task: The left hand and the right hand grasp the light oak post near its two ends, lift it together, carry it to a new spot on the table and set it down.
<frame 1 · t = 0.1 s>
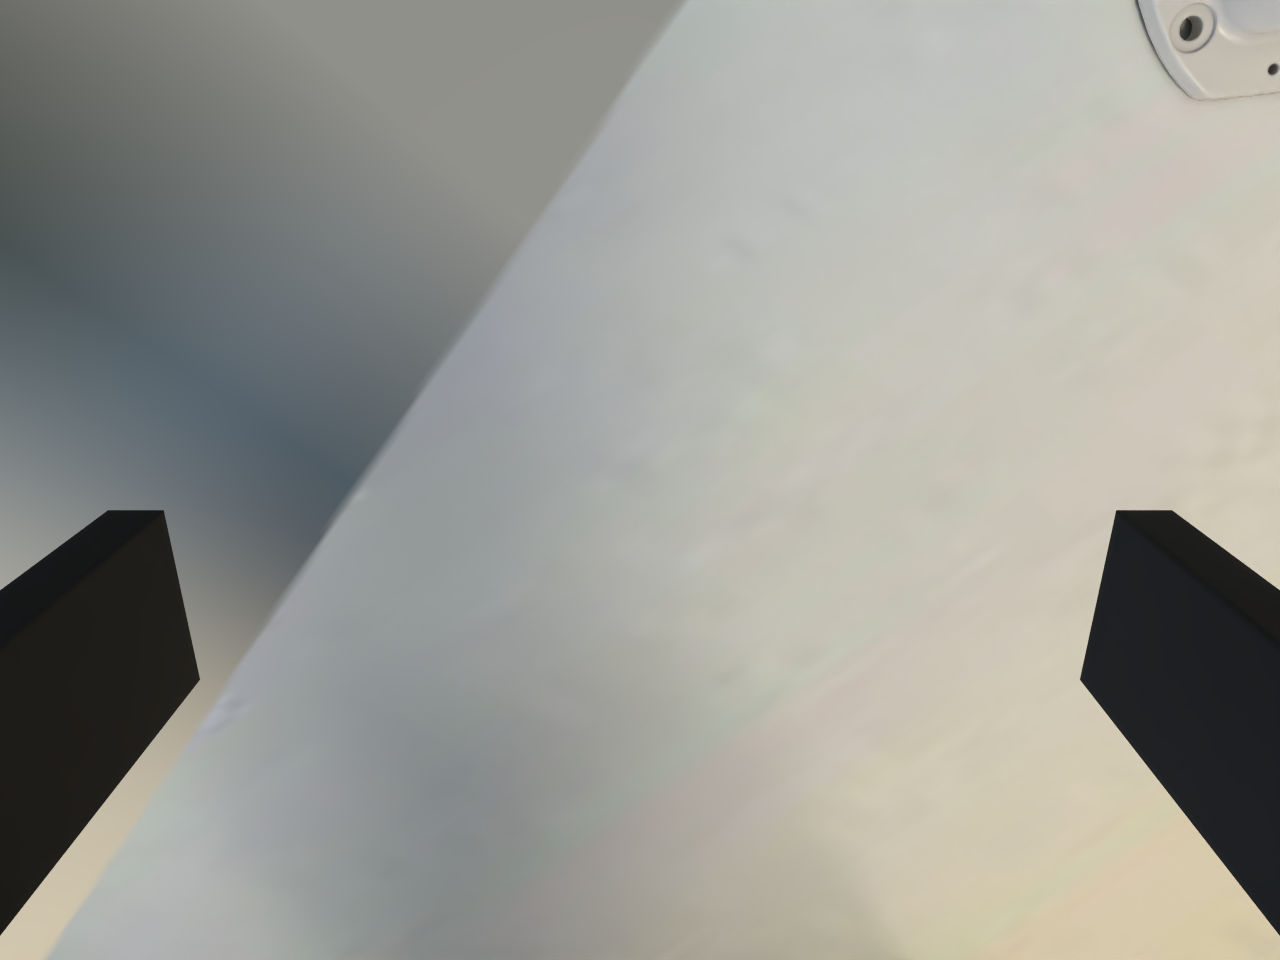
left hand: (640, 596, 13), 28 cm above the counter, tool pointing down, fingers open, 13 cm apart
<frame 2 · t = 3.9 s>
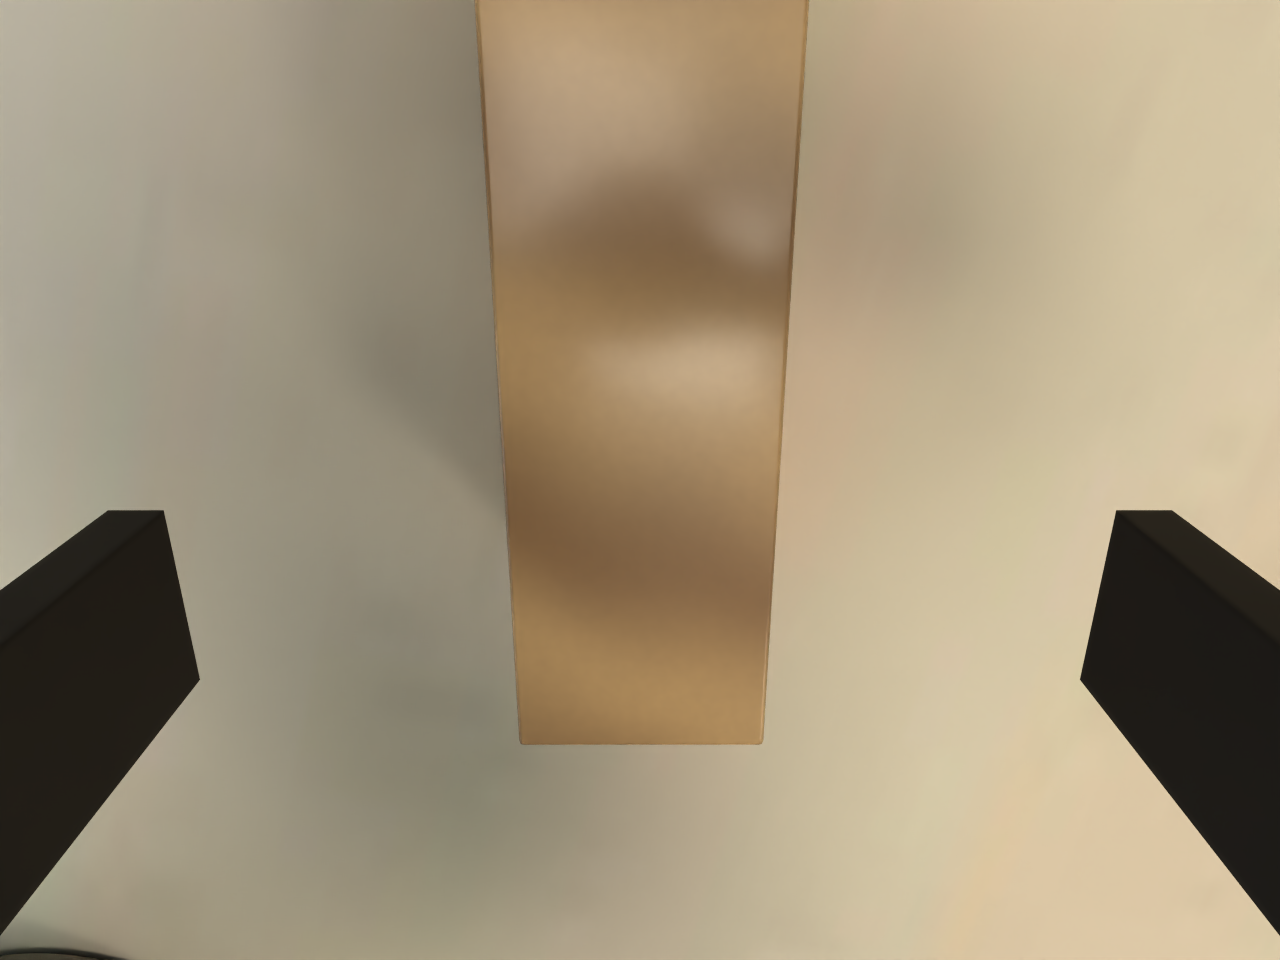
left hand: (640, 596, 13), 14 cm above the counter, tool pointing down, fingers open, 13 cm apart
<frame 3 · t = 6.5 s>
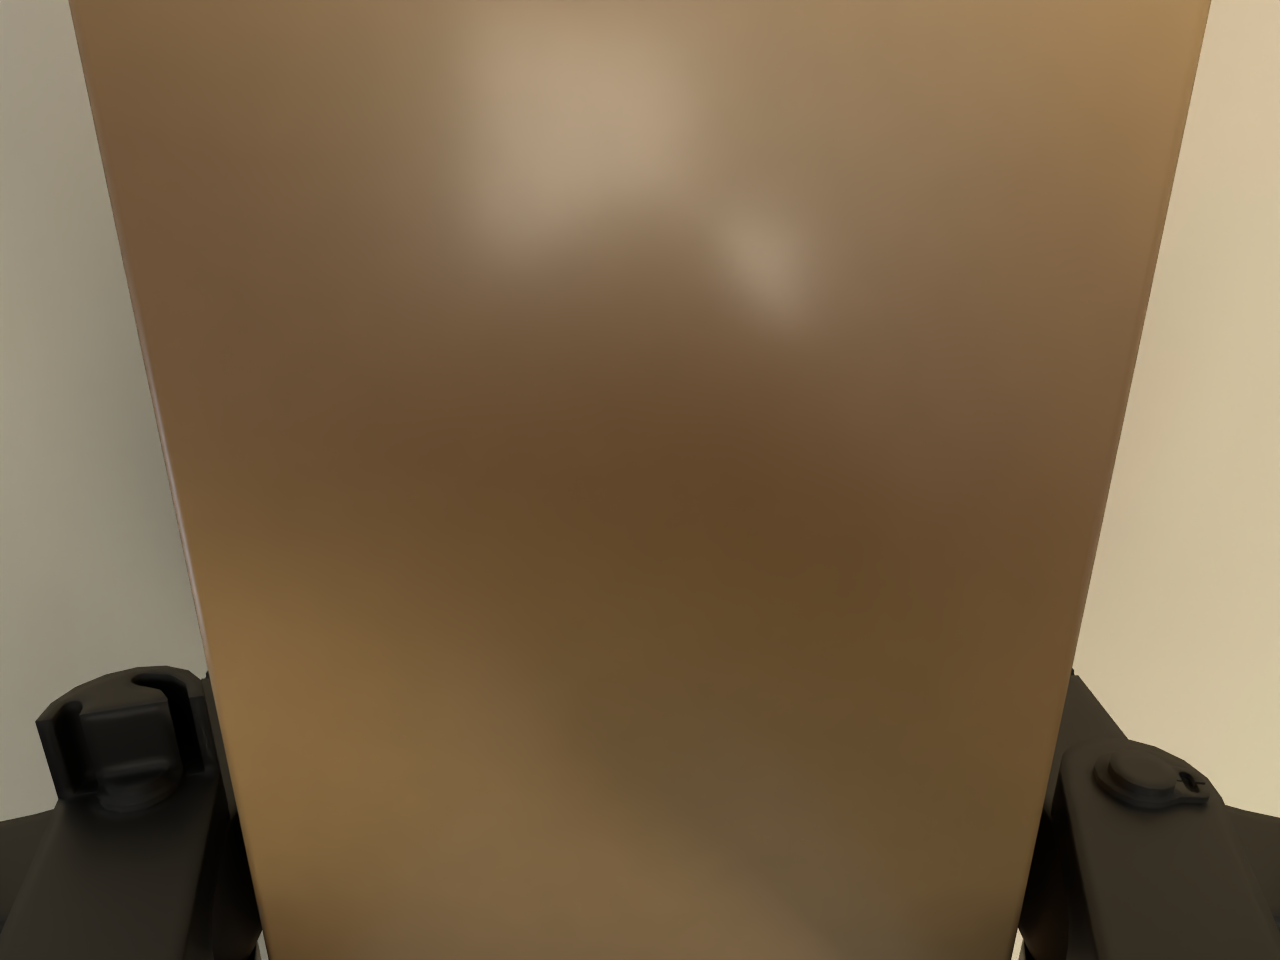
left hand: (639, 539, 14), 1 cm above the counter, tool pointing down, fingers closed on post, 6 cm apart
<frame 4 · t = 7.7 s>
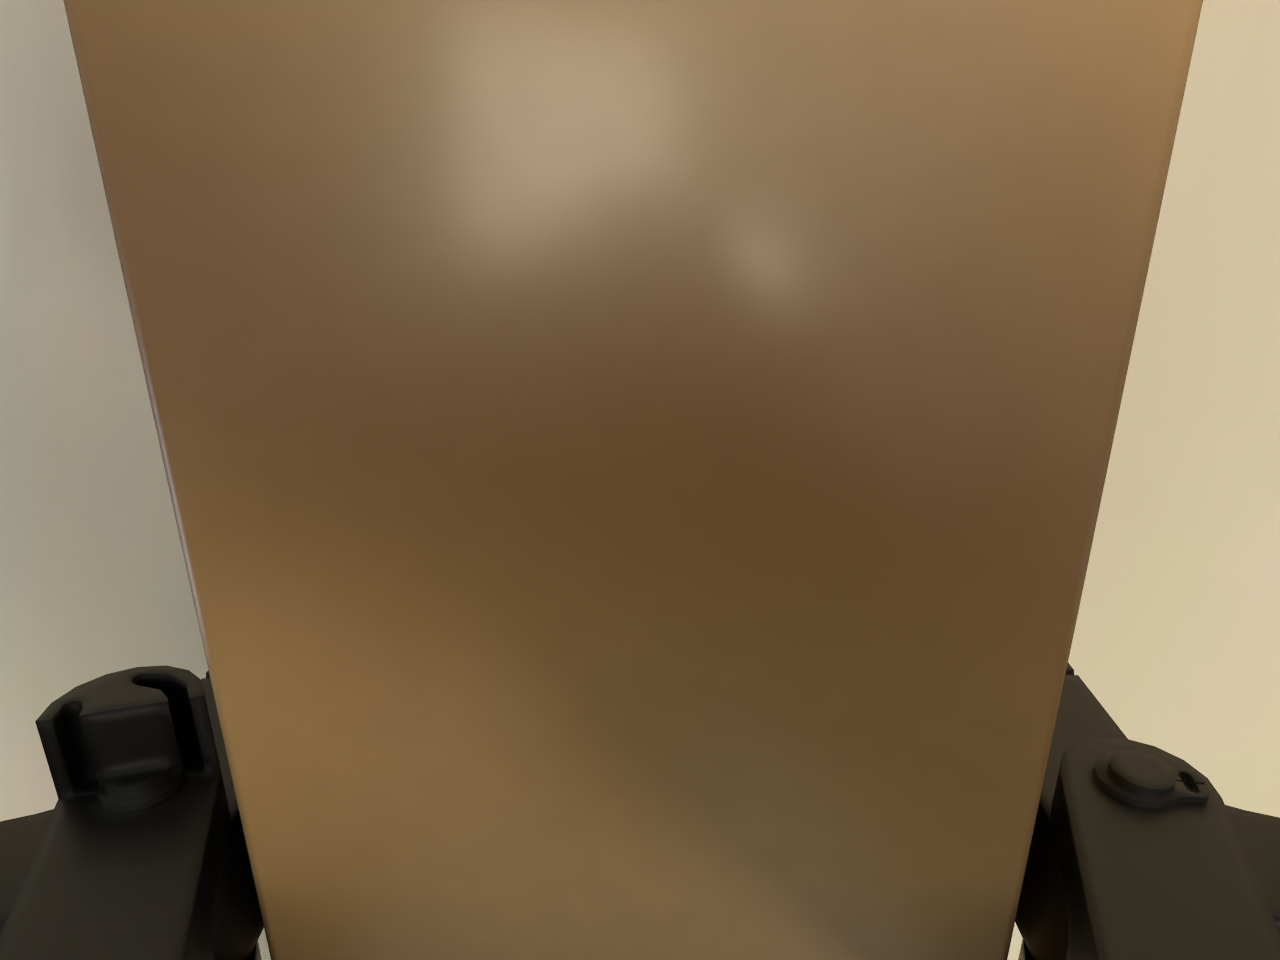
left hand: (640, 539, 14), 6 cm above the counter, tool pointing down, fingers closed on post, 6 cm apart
when the left hand's fingers open (2 cm above the counter, at t = 11.1 s): post stays where it is, held by the right hand.
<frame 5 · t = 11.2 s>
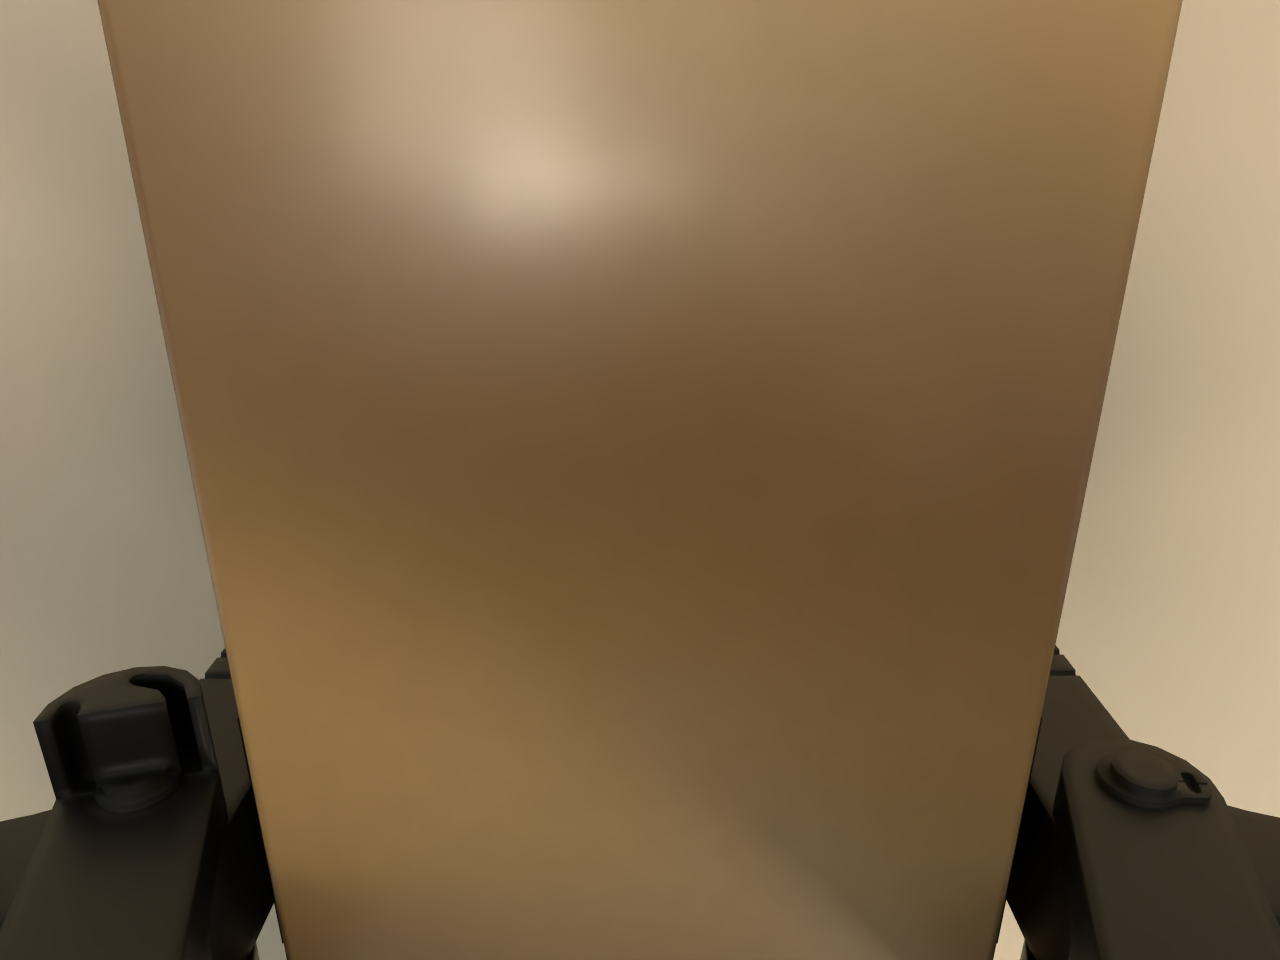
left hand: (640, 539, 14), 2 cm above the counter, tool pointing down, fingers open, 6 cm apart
when the right hand's fingers open (5 cm above the counter, at t = 11.4 s): post stays where it is, on the counter.
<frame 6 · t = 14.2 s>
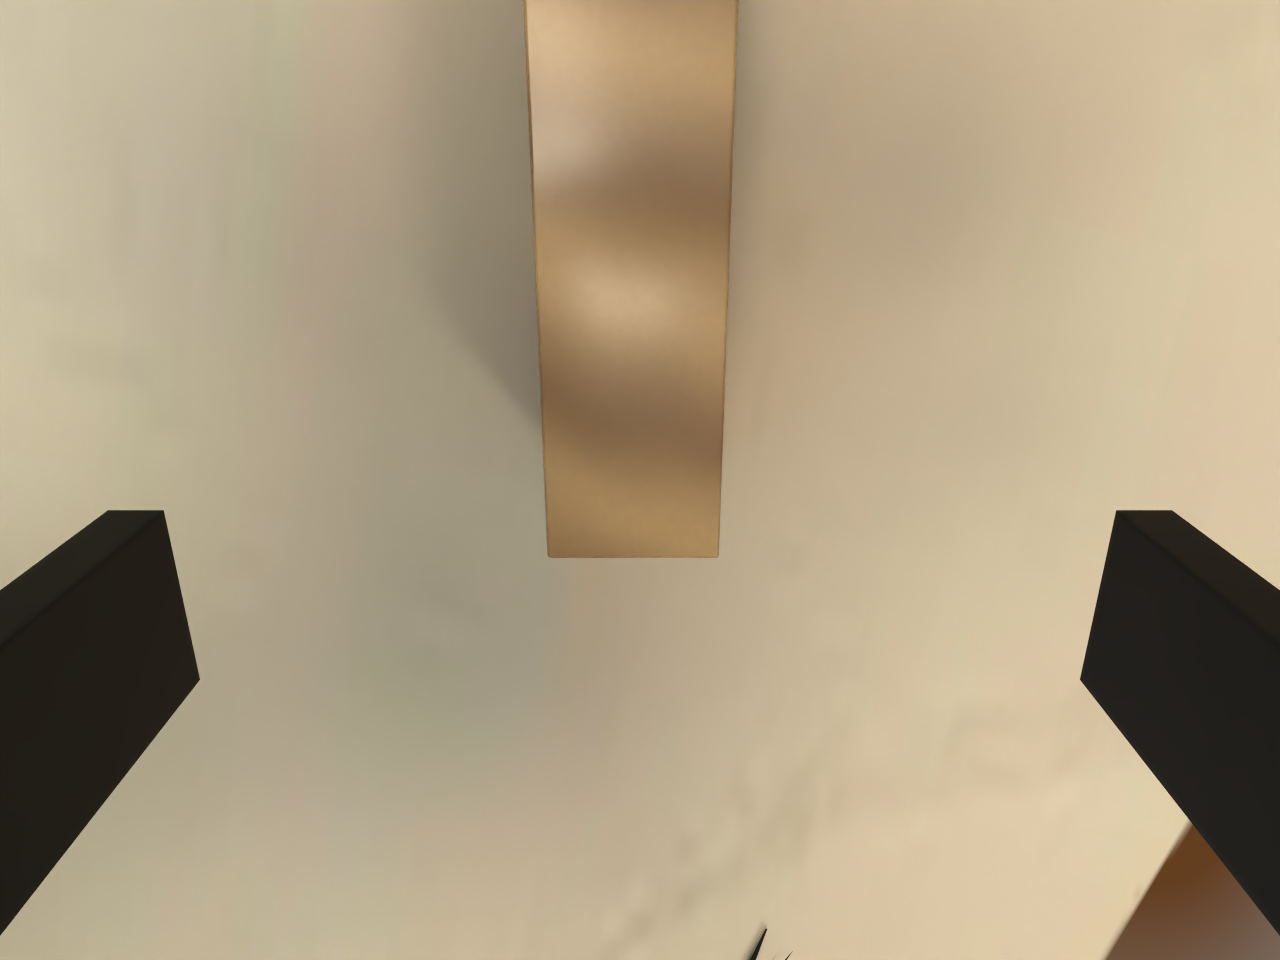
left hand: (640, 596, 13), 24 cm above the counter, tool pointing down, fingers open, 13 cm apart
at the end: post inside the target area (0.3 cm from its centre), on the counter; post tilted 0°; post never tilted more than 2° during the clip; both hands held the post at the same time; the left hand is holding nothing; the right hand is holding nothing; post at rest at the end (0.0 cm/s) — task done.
